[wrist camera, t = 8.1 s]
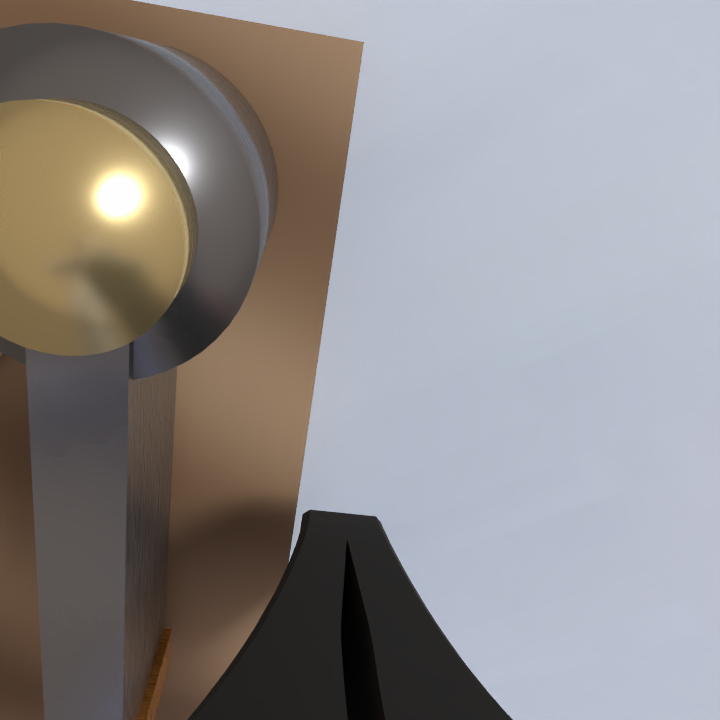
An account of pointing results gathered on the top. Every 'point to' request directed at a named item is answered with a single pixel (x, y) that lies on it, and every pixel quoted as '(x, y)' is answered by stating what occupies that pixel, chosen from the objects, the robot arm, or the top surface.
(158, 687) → the dark grey lever
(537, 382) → the top surface
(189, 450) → the walnut base
